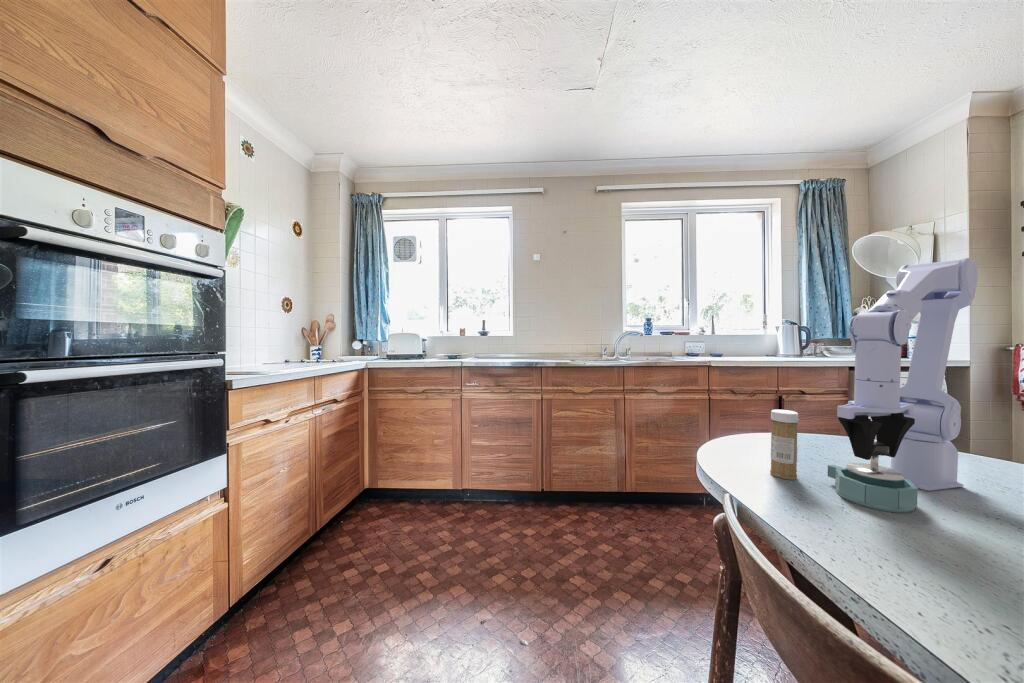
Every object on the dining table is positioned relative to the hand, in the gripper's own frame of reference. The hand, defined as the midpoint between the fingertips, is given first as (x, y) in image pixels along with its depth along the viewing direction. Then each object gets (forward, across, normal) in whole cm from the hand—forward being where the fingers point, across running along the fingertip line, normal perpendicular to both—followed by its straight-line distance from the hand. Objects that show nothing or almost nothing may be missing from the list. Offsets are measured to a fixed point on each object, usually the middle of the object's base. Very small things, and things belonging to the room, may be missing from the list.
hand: (874, 456), depth 65 cm
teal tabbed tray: (+8, 0, -1) cm, 8 cm away
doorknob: (+3, 0, 0) cm, 3 cm away
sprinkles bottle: (+8, +6, -12) cm, 16 cm away
